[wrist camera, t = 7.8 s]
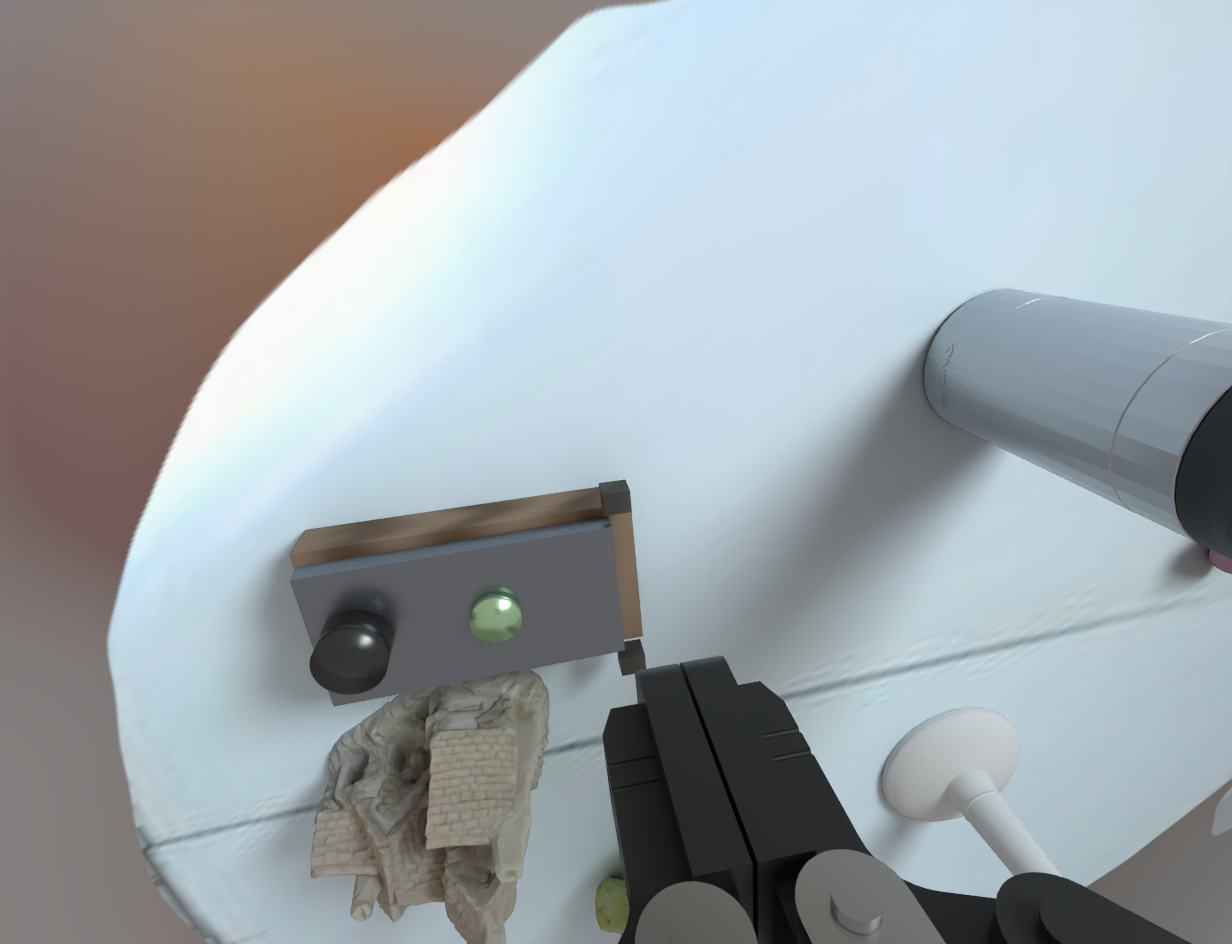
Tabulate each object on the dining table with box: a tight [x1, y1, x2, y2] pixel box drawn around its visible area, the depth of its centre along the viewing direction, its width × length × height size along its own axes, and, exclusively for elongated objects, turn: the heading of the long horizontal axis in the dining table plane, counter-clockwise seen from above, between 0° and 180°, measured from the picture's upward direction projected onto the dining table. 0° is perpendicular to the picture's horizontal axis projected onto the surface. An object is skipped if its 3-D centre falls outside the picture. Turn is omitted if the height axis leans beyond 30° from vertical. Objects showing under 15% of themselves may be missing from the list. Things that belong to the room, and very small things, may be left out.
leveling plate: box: [290, 516, 625, 706], centre depth 37 cm, size 18×9×4 cm, turn 95°
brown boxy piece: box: [290, 480, 646, 676], centre depth 40 cm, size 20×13×5 cm, turn 95°
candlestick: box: [882, 707, 1063, 877], centre depth 43 cm, size 13×13×30 cm
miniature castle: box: [311, 669, 549, 944], centre depth 41 cm, size 16×16×15 cm
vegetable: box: [595, 877, 629, 935], centre depth 52 cm, size 12×13×15 cm
